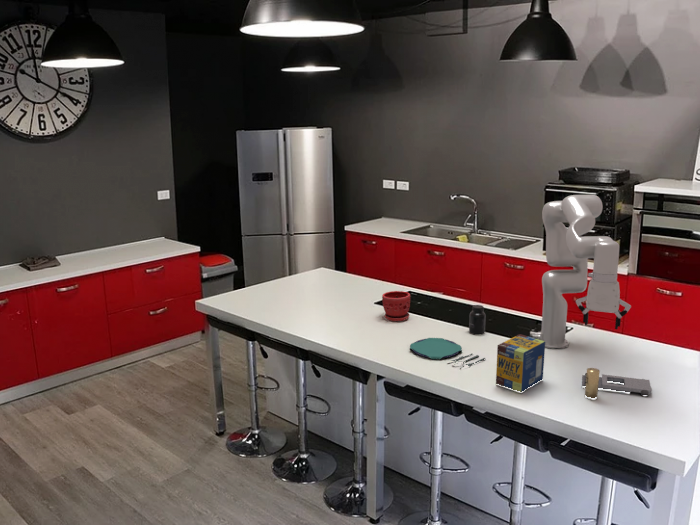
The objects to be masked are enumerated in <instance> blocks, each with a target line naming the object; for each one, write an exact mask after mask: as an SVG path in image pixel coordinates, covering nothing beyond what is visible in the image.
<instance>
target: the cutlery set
mask: <svg viewBox="0 0 700 525" xmlns="http://www.w3.org/2000/svg"><path fill="white" fill-rule="evenodd" d="M409 350H410V351H413V353H415V354H417V355H418V356H422V357H424V358H430V359H431V360H438V359H439V360H441V359H445V358H447V359H448V358H450V357H454V356H456V355H458V354H459V353H462V352H463V351H462V346H461V345H460V344H458V343H457V342H454V341H452V340H449V339H445V338H441V337H427V338H423V339H419V340H418V339H417V341H414V342H412V343H411V344H409ZM472 354H473V353H470V354H468V355H464V356H458V358H455V359H452V360H451V361H455V360H458V361H460V360H459V359H461V358H464V357H465V358H468V357H469V355H470V356H472V357H470V358H468V359H466V360H464V361H462V362H463V365H468V366H470V365H471V366H473V365H472V364H474V362H475V363H477V362H479V361H482V360H484V359H485V360H486V357H483V358H481V359H480V358H479V357H480V355H478V354H476V355H475V356H474V355H472ZM477 357H478V358H479V360H477V361H474V362H471V363H466V362H465V361H467V362H469V361H471V359H472V360H474V359H478V358H477ZM465 358H464V359H465ZM461 360H462V359H461ZM468 360H469V361H468ZM485 360H484V361H485ZM456 362H457V361H455V362H454V363H456ZM464 362H465V363H466V364H465V363H464ZM482 362H483V361H482ZM479 363H480V362H479ZM477 364H478V363H477ZM474 365H475V364H474ZM471 366H470V367H471Z"/></svg>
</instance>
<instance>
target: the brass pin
mask: <svg viewBox="0 0 700 525" xmlns="http://www.w3.org/2000/svg"><path fill="white" fill-rule="evenodd" d="M600 372H601V370H599V369H598V368H595V367H587V368H586V373H587V375H586V387H585V389H584V396H585V395H586V396H587V397H591V398H595V397H597V398H598V393H599V390H598V384H599V377H600Z"/></svg>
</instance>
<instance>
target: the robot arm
mask: <svg viewBox="0 0 700 525" xmlns="http://www.w3.org/2000/svg"><path fill="white" fill-rule="evenodd" d="M602 212H603V202H602V199H601V198H600V197H599V196H597V195H596V194H573V195H572V194H571V195H568V196H566V197H564V198H563V199H562V200H554V201H549V202H547V203H545V204H544V205H543V208H542V213H541V215H542V216H541V217H542V222H543V225H544V229H545V235H546V236H545V258H546V263H547V265H548V266H550V267H556V268H557V267H560V268H561V267H572V268H573V269H551V270H548V271H546V272H544V273H543V275H542V277H541V285H542V294H543V295H542V302H543V303H542V314H541V316H542V318H541V330H540V331H538V332H536V331H530V332H529V337H532V338H535V339H539V340H542V341H545V349H550V348H562V349H565V348H564V347H566V348H567V346H568V347H569V345H570V344H569V341H568V339H566V330H567V316H568V302H567V300H566V299H565V297H564V296H563V294H577V293H583V292H585V291H586V289H587V294H586V295H585V296H582V297H580V298H577V299H576V300H575V304H576V305H577V307H578V309H579V311H580V312H581V313H582V315H583V316H582V322H583V323H584V326H588V323H589V314H590V313H589V312H590V311H591V312H592V311H594V312H601V313H608V314H609V313H610V314H615V316H616V317H615V321H614V322H615V326H614V329H615V330H618V328H619V327H621V319H622V318H623V317H624V316H626V314H628V312H629V311H630V309H631V308H632V305H631V304H629V303H628V302H626V301H625V300H622V299H621V298H620V297H621V296H620V294H621V291H620V282H619V281H618V272H619V270H618V269H619V257H620V244H619V243H618V242H617V241H615V240H614V239H613V238H611V237H610V236H605V235H597V236H591V235H590V236H583V235H586V234H587V233H589V232H590V231H592V229H594V227H595V224H596V218H598V217H599V216H600V215H601V214H602ZM564 223H568V224H569V225H568V228H567V227H566V226H565V224H564ZM588 259H593V270H592V272H588V268H589V266H588V265H589V264H588V263H589V260H588ZM588 277H589V278H591V280H590V281H589V284H588ZM583 302H586V303H585V306H586V307H585V306H583V304H582V303H583ZM620 305H621V306H622V307H624V309H623V310H619V308H620Z"/></svg>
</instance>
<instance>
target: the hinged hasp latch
mask: <svg viewBox="0 0 700 525" xmlns="http://www.w3.org/2000/svg"><path fill="white" fill-rule="evenodd" d="M586 375H587V372H585V373H584V374H582V376H581V377H582V378H581V387H582V386H586ZM607 381H613V382H620V383H624V385H619V384H611V383H607ZM651 386H652V385H651V382H650V379H644V378H634V377H627V376H619V375H611V374H604V373H602V374H601V376H599V384H598V388H603V389H611V390H616V391H625V392H630V393H631V392H632V393H640V395H641V394H642V395H648V396H649V395H652V387H651ZM642 395H641V396H642Z"/></svg>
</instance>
